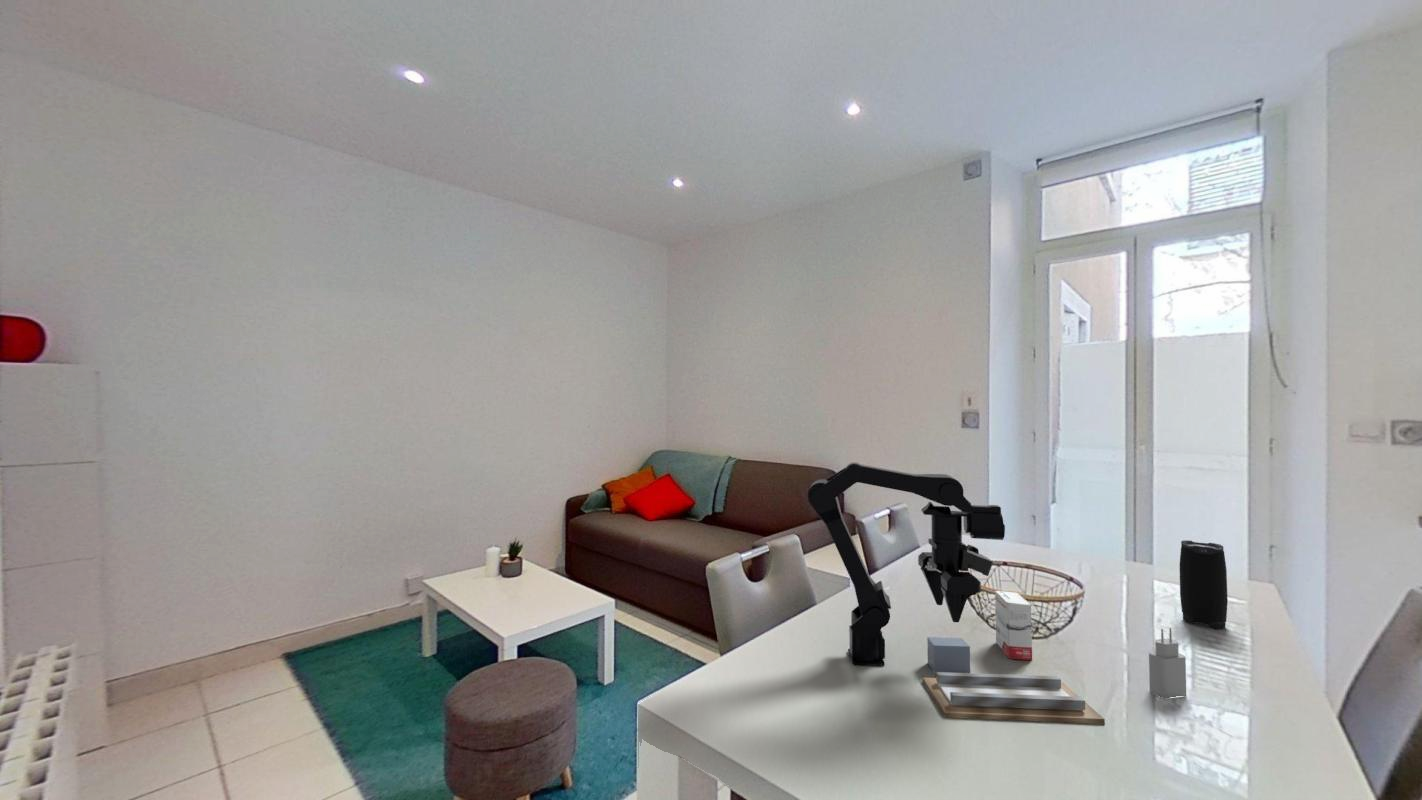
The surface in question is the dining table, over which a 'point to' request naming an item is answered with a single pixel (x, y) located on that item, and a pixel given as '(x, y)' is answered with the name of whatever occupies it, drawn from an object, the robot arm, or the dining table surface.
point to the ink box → (1013, 625)
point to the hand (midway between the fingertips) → (947, 613)
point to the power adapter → (1167, 668)
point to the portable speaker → (1203, 584)
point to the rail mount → (1008, 698)
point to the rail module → (948, 655)
